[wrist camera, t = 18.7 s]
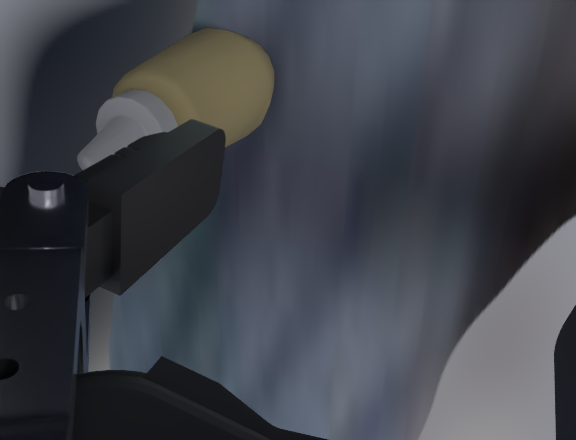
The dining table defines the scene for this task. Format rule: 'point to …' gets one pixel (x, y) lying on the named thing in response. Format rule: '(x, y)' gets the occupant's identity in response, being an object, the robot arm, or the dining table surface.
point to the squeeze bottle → (187, 92)
